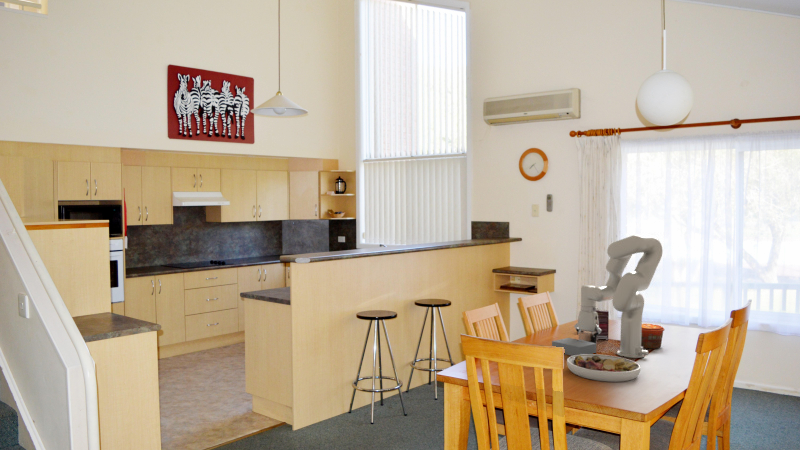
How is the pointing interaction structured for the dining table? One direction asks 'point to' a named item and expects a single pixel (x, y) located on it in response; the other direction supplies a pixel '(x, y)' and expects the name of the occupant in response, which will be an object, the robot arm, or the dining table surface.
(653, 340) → the food container
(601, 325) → the supplement box
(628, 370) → the bowl
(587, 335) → the housing
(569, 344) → the stand
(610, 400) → the dining table surface
